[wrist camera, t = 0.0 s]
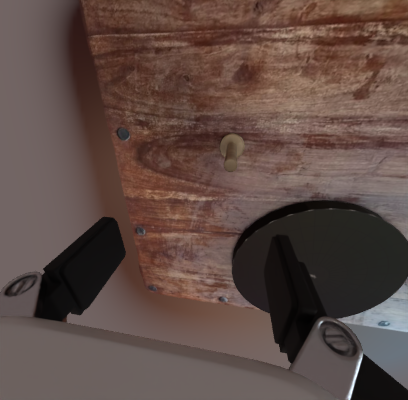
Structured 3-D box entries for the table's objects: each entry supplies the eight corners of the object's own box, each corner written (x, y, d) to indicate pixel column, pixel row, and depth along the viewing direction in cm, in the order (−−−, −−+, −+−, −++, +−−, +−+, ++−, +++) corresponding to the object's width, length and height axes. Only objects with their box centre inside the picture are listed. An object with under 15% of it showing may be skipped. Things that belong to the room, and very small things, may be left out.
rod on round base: (221, 132, 26) (214, 147, 18) (245, 133, 26) (250, 149, 17) (219, 156, 28) (213, 180, 20) (242, 157, 28) (246, 182, 19)
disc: (441, 210, 27) (463, 222, 24) (353, 317, 42) (361, 332, 39) (242, 190, 30) (243, 199, 28) (225, 296, 45) (225, 308, 43)
